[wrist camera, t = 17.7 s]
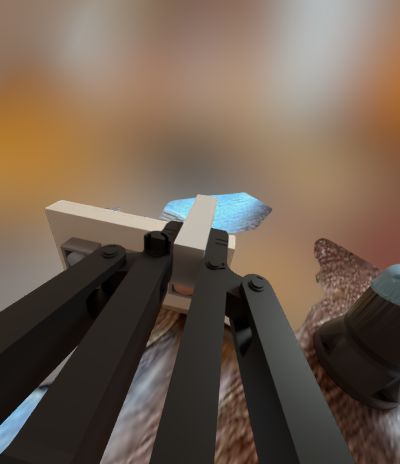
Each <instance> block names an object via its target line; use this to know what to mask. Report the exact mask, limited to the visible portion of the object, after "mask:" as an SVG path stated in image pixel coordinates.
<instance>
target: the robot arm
mask: <svg viewBox="0 0 400 464" xmlns="http://www.w3.org/2000/svg"><path fill="white" fill-rule="evenodd" d="M217 199H218V198H215V197H210V196H205V195H200V194H198V196H197V197H196V199H195V201H194V203H193V205H192V207H191V209H190V211H189V213H188V215H187V217H186V219H185V222H184V223H182V222H177V221H170V222H169V223H167V224H166V225H165V227H164V229H163V230H162V231H151V232H148V233H146V234H145V235H144V250H143V252H137V253H126V250H125V248H124V247H122V246H121V245H117V244H109V245H105V246H103V247H100V248H99V249H97V250H96V251H94V252H93V253H91V254H89V255H88V256H86V257H85V258H83V259H82V260H80V261H79V262H77V263H75V264H74V265H72V266H71V267H69V268H68V269H66V270H65V271H63V272H62V273H60V274H58V275H57V276H55V277H54V278H52V279H51V280H49V281H48V282H46V283H44V284H43V285H41V286H40V287H38V288H37V289H35V290H34V291H32V292H31V293H29V294H28V295H26V296H24V297H23V298H21V299H20V300H18V301H17V302H15V303H13V304H12V305H11V306H9V307H7V308H6V309H4V310H3V311H1V312H0V425H1V424H2V423H3V422H4V421H5V420H6V419H7V418H8V417H9V416H10V415H11V414H12V413H13V412H14V411H15V410H16V409H17V407H18V406H19V405H20V404H21V403H22V402H23V401H24V400H25V399H26V398H27V397H28V396H29V395H30V394H31V393H32V392H33V391H34V390H35V389H36V388H37V387H38V386H39V385H40V384H41V383H42V382H43V381H44V380H45V379H46V378H47V377H48V376H49V374H50V373H52V371H53V370H54V369H55V368H56V367H57V366H58V365H59V364H60V363H61V362H62V361H63V360H64V359H65V358H66V357H67V356H68V355H69V354H70V353H71V352H72V351H73V350H74V349H75V348H76V347H77V348H76V349H75V351H74V352H73V354H72V355H71V357H70V358H69V359H68V361H67V362H66V364H65V365H64V367H63V368H62V370H61V371H60V373H59V374H58V376H57V377H56V378H55V380H54V381H53V383H52V384H51V386H50V387H49V389H48V390H47V392H46V393H45V394H44V396H43V397H42V399H41V400H40V402H39V403H38V405H37V406H36V408H35V409H34V411H33V412H32V413H31V415H30V416H29V418H28V419H27V421H26V422H25V424H24V425H23V427H22V428H21V429H20V431H19V432H18V434H17V435H16V437H15V438H14V439H13V441H12V442H11V443H10V445H9V446H8V447H7V448H6V449H5V450H4V451H3V452H2V453H1V454H0V464H100V461H101V459H102V456H103V454H104V451H105V449H106V446H107V444H108V441H109V439H110V436H111V433H112V431H113V428H114V426H115V423H116V421H117V418H118V416H119V413H120V411H121V408H122V406H123V403H124V400H125V398H126V395H127V393H128V390H129V388H130V385H131V383H132V380H133V378H134V375H135V373H136V370H137V367H138V365H139V362H140V360H141V357H142V355H143V352H144V350H145V347H146V345H147V342H148V340H149V337H150V334H151V332H152V329H153V327H154V324H155V322H156V319H157V317H158V314H159V312H160V309H161V307H162V304H163V301H164V299H165V296H166V294H167V291H168V283H169V281H170V279H171V282H170V283H171V284H175V285H179V286H184V287H188V288H192V289H194V291H193V295H192V299H191V303H190V307H189V310H188V314H187V318H186V322H185V326H184V330H183V334H182V338H181V342H180V345H179V349H178V353H177V357H176V361H175V365H174V369H173V373H172V377H171V380H170V384H169V388H168V392H167V396H166V400H165V404H164V408H163V411H162V415H161V419H160V423H159V427H158V431H157V435H156V439H155V443H154V446H153V450H152V454H151V458H150V462H149V464H214V456H215V442H216V428H217V415H218V401H219V387H220V373H221V360H222V346H223V332H224V318H225V316H227V317H229V321H230V326H231V331H232V336H233V340H234V345H235V350H236V355H237V360H238V364H239V369H240V374H241V379H242V384H243V389H244V393H245V398H246V403H247V408H248V413H249V417H250V422H251V427H252V432H253V437H254V442H255V446H256V451H257V456H258V461H259V464H356V463H355V461H354V459H353V457H352V454H351V452H350V450H349V448H348V446H347V444H346V442H345V440H344V438H343V435H342V433H341V431H340V429H339V427H338V425H337V423H336V421H335V419H334V417H333V414H332V412H331V410H330V408H329V406H328V404H327V402H326V400H325V398H324V396H323V393H322V391H321V389H320V387H319V385H318V383H317V381H316V379H315V377H314V375H313V372H312V370H311V368H310V366H309V364H308V362H307V360H306V358H305V356H304V354H303V351H302V349H301V347H300V345H299V343H298V341H297V339H296V337H295V335H294V333H293V331H292V328H291V326H290V324H289V322H288V320H287V318H286V316H285V314H284V312H283V309H282V307H281V305H280V303H279V301H278V299H277V297H276V295H275V293H274V291H273V288H272V286H271V285H270V283H269V282H268V281H267V280H266V279H265V278H263V277H261V276H259V275H256V274H248V275H246V276H244V277H241V276H239V275H237V274H235V273H234V272H233V271H231V270H230V268H229V267H228V264H227V255H228V243H229V235H228V234H227V232H226V231H223V230H219V229H214V228H212V224H213V219H214V214H215V209H216V204H217ZM314 347H315V351H316V354H317V356H318V359H319V361H320V362H321V364H322V366H323V367H324V369H325V370H326V372H327V373H328V374H329V376H330V377H331V378H332V379H333V380H334V381H335V382H336V384H337V385H338V386H340V387H341V388H342V389H343V390H344V391H345V392H346V393H348V394H349V395H350V396H352V397H353V398H355V399H356V400H358V401H359V402H361V403H363V404H365V405H367V406H370V407H373V408H376V409H383V410H386V409H391V408H394V407H395V406H397V405H399V404H400V264H396V265H393V266H390V267H389V268H387V269H386V270H385V271H384V272H383V273H382V274H381V275H380V276H379V277H378V278H376V279H374V280H373V281H372V282H371V286H370V287H369V288H368V289H367V290H366V291H365V292H364V294H363V295H362V296H361V297H360V298H359V299H358V300H357V301H356V303H355V304H354V305H353V306H352V307H351V308H350V309H349V310H348V312H347V313H346V314H345V315H342V316H340V317H337V318H335V319H332V320H330V321H327V322H325V323H324V324H322V325H321V327H320V328H319V329H318V330H317V331H316V333H315V336H314Z"/></svg>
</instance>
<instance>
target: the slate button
mask: <svg viewBox="0 0 400 464" xmlns="http://www.w3.org/2000/svg"><path fill="white" fill-rule="evenodd" d="M86 256H88V255H86V254H82V253H77V252H72V253H71V254H70V255H68V257H67V260H68V262H69V264H70V265H71V266H72V265H74V264H75V263H77V262H79V261H80V260H82V259H83V258H85V257H86Z"/></svg>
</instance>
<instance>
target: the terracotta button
mask: <svg viewBox="0 0 400 464" xmlns="http://www.w3.org/2000/svg"><path fill="white" fill-rule="evenodd" d="M174 288H175V290H176V291H177V292H179V293H180V294H183V295H191V294H193V291H194V289H192V288H188V287H184V286H179V285H175V284H174Z"/></svg>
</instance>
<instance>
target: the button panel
mask: <svg viewBox="0 0 400 464" xmlns="http://www.w3.org/2000/svg"><path fill="white" fill-rule="evenodd" d="M45 212H46V215H47V218H48V221H49V224H50V227H51V231H52V234H53V237H54V240H55V243H56V246H57V249H58V252H59V255H60V258H61V261H62V264H63V268H64V271H65V270H66V269H68V268H69V267H71V265H70V264H69V262H68V260H67V257H68V255H70V254H71V253H72V252H77V253H82V254H86V255H89V254H91V253H93V252H94V251H96V250H97V249H99V248H100V247H103V246H105V245H109V244H117V245H121V246H122V247H124V248H125V250H126V253H137V252H143V250H144V235H145V234H146V233H148V232H151V231H162V230H163V229H164V227H165V225H166V224H167V223H169V222H165V221H160V220H156V219H151V218H146V217H141V216H137V215H131V214H127V213H122V212H117V211H113V210H108V209H103V208H98V207H93V206H89V205H84V204H79V203H74V202H69V201H65V200H60V201H58V202H56V203H54V204H52V205H50V206H48V207H46V208H45ZM234 251H235V236H232V235H229V243H228V255H227V264H228V267H229V268H230V264H231V261H232V258H233V254H234ZM170 282H171V279H170V281H169V283H168V291H167V294H166V296H165V299H164V301H163V304H162V307H161V308H163V309H167V310H171V311H175V312H180V313H184V314H188V310H189V307H190V303H191V299H192V295H193V294H191V295H183V294H180V293H179V292H177V291H176V290H175V288H174V284H171V283H170Z"/></svg>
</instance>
